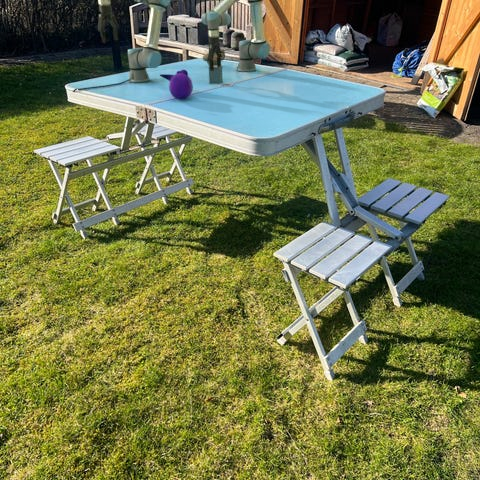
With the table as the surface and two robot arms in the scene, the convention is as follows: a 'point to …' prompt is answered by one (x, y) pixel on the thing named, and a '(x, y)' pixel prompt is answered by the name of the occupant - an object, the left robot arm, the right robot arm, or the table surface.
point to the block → (216, 75)
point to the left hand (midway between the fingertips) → (110, 41)
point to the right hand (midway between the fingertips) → (215, 68)
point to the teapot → (214, 58)
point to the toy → (179, 84)
